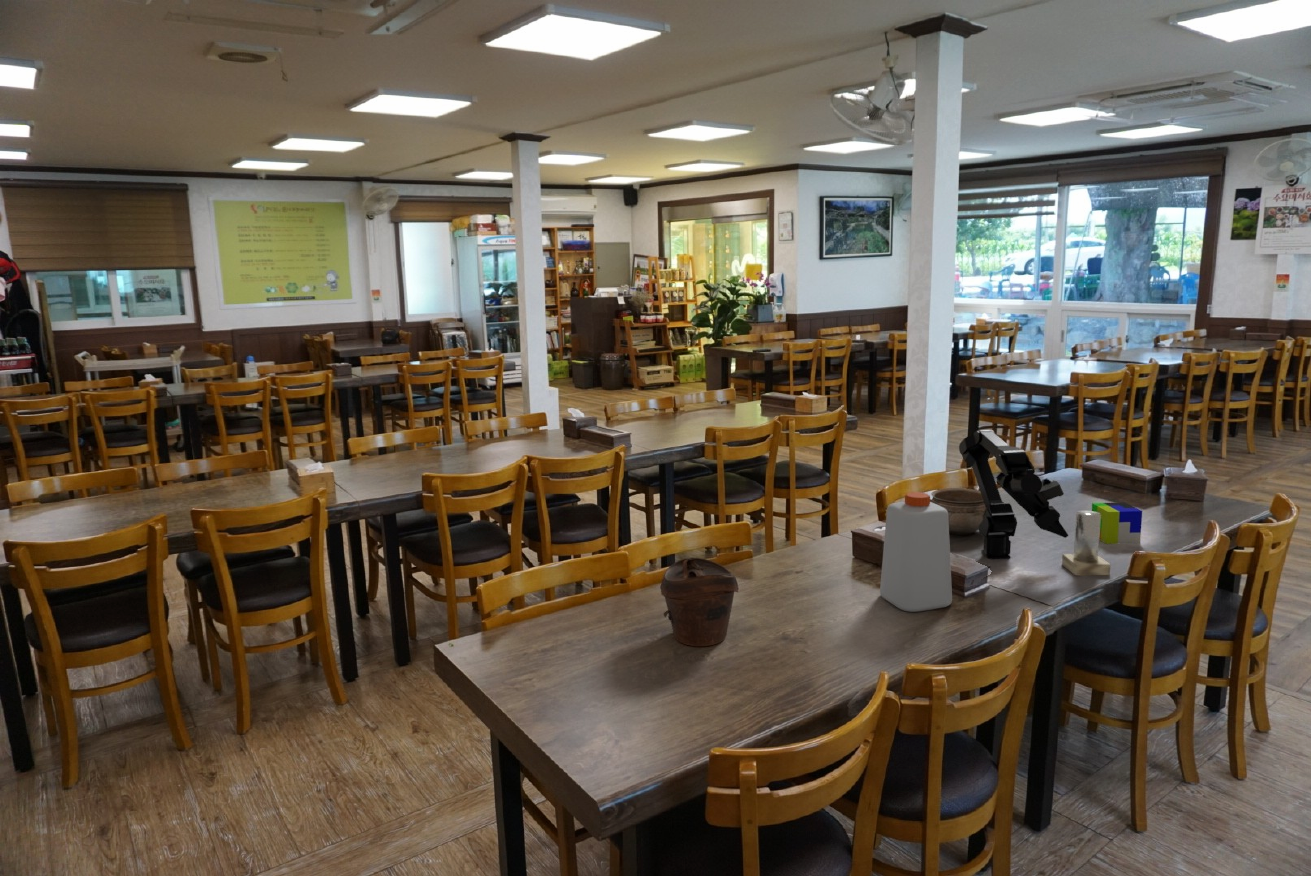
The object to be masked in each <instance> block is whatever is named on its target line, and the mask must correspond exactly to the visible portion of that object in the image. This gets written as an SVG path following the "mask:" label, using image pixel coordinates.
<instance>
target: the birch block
mask: <svg viewBox="0 0 1311 876" xmlns="http://www.w3.org/2000/svg"><path fill="white" fill-rule="evenodd" d="M1061 556H1062V558H1061V560H1062V561H1061V565H1062V566H1063V567H1064V568H1066V569H1067V570H1068V571H1070V573H1072V574H1073V575H1074V576H1110V574H1111V564H1110V562H1108V561H1107V560H1105V559H1104V558H1102V557H1101V556H1100V555H1098V561H1097V562H1093V563H1086V562H1080V561H1077V560H1075V559H1074V553H1062V555H1061Z"/></svg>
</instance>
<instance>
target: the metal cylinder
mask: <svg viewBox="0 0 1311 876" xmlns="http://www.w3.org/2000/svg"><path fill="white" fill-rule="evenodd" d="M1100 519H1101V514H1100V513H1098V512H1094V511H1092V510H1085V509H1084V510H1078V511H1076V512H1075V524H1074V525H1075V527H1074V542H1073V543H1074V544H1073V545H1074V546H1073V554H1074V559H1075V560H1077V561H1080V562H1086V563H1093V562H1097V561H1098V556H1099V550H1100V549H1099V547H1100V540H1099V535H1100Z"/></svg>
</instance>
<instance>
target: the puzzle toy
mask: <svg viewBox="0 0 1311 876" xmlns="http://www.w3.org/2000/svg"><path fill="white" fill-rule="evenodd" d="M1091 511H1094V512H1098V513H1100V514H1101V519H1100V535H1099V541H1101V542H1102V543H1105V544H1106V545H1112V544H1113V545H1117V544H1118V545H1120V544H1140V543H1141V535H1142V534H1141V532H1142V523H1143V510H1142V509H1140V508H1137V507H1135V506H1133V505H1131V504H1129V503H1128V502H1125V501H1121V502H1118V501H1117V502H1115V501H1114V502H1092V503H1091Z"/></svg>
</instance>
